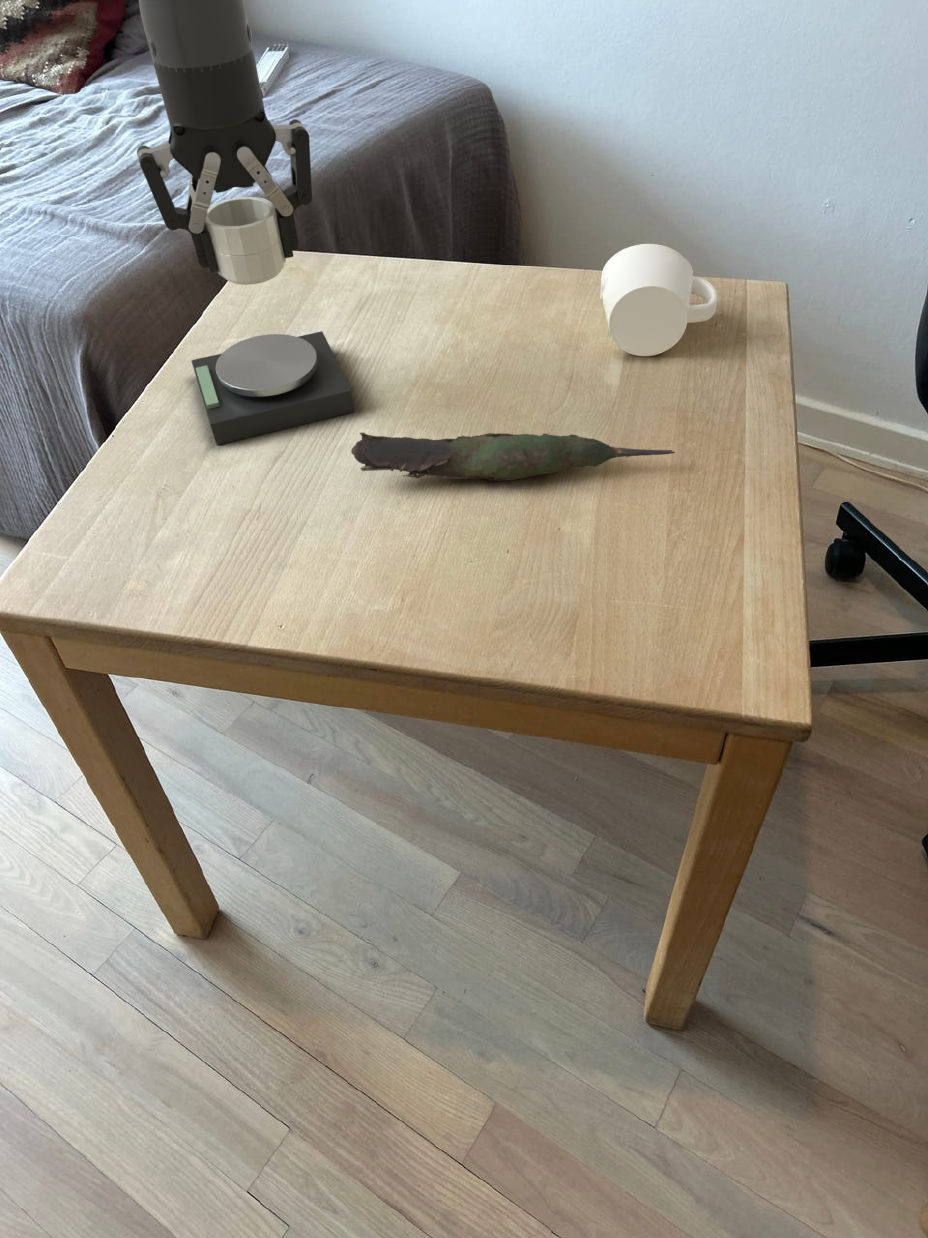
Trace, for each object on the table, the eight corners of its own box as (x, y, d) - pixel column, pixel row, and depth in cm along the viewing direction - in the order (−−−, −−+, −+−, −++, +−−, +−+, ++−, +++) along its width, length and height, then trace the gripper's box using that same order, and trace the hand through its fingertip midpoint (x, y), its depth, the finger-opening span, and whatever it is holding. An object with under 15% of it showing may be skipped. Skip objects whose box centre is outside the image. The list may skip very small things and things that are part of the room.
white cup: (224, 292, 76) (209, 233, 73) (213, 261, 80) (198, 204, 76) (293, 278, 78) (281, 219, 74) (278, 248, 82) (267, 191, 78)
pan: (227, 406, 84) (225, 399, 83) (209, 353, 90) (207, 346, 89) (328, 382, 86) (327, 375, 85) (304, 332, 92) (303, 325, 91)
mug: (597, 355, 93) (603, 284, 87) (598, 309, 99) (604, 240, 93) (713, 358, 92) (727, 286, 86) (706, 312, 98) (719, 241, 92)
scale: (216, 445, 85) (208, 419, 83) (197, 380, 93) (189, 355, 90) (355, 411, 88) (351, 386, 86) (325, 351, 95) (321, 326, 93)
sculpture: (358, 463, 83) (351, 418, 79) (666, 449, 82) (674, 404, 78) (355, 496, 79) (348, 452, 76) (676, 482, 79) (684, 437, 75)
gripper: (284, 18, 70) (318, 228, 82) (99, 46, 67) (163, 259, 79) (306, 46, 65) (338, 264, 77) (107, 76, 62) (175, 298, 75)
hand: (250, 260), depth 78 cm, fingers closed on white cup, 6 cm apart
